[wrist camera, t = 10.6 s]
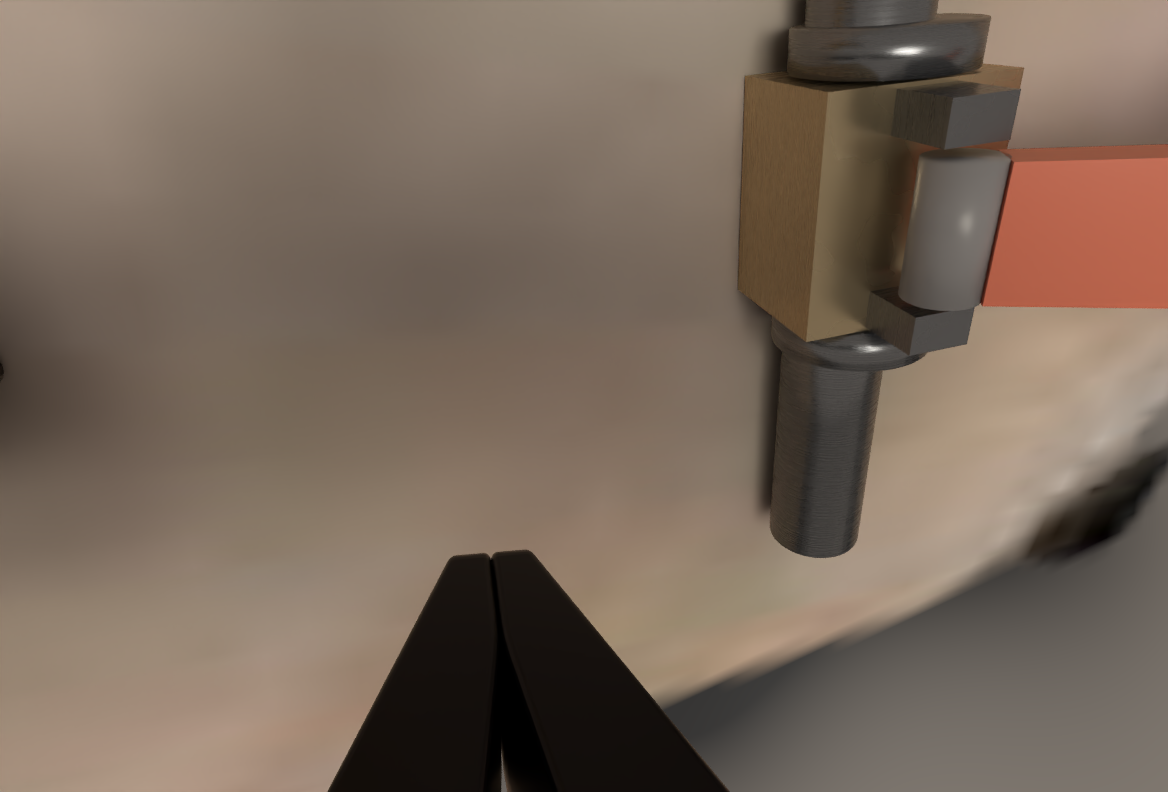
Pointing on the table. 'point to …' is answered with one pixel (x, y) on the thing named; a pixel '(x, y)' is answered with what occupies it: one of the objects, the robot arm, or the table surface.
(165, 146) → the table surface
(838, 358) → the pipe valve
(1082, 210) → the lever
